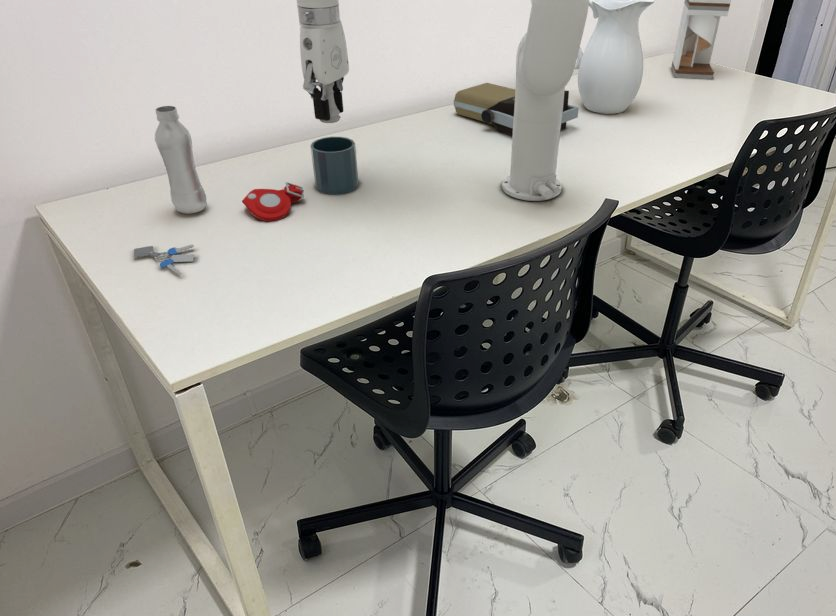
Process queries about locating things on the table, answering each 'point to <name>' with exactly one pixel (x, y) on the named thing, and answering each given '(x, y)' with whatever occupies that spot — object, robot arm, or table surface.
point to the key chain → (166, 263)
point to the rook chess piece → (331, 105)
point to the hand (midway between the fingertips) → (329, 114)
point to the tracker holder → (272, 201)
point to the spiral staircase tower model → (697, 38)
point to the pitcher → (612, 57)
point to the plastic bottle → (179, 161)
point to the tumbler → (334, 165)
